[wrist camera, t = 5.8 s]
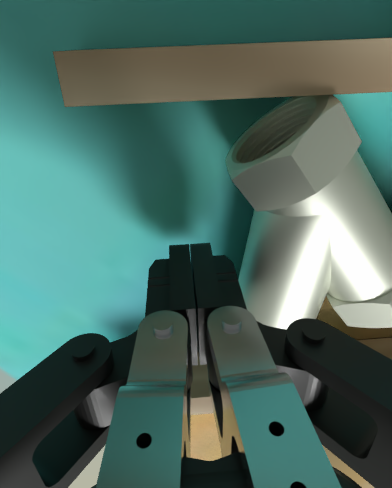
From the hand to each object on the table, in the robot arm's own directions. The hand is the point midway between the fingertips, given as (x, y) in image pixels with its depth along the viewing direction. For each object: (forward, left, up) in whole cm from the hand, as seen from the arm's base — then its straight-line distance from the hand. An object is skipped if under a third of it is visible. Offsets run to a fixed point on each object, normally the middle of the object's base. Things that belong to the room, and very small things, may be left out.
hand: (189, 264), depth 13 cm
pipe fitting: (-1, +4, -2) cm, 4 cm away
